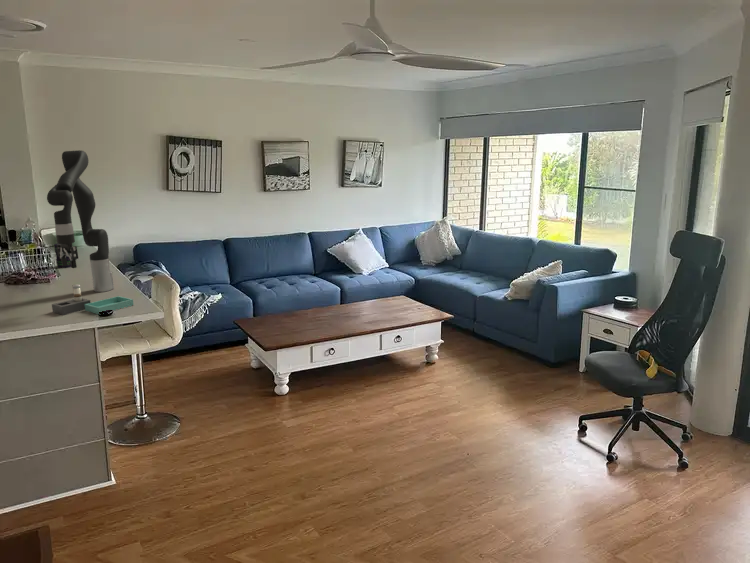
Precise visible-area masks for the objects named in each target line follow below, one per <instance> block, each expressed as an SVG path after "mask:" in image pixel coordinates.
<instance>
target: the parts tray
mask: <svg viewBox="0 0 750 563" xmlns="http://www.w3.org/2000/svg"><path fill="white" fill-rule="evenodd" d="M84 305H85V310H84V311H85V312H90V313H92V314H97V315H100V314H99V312H102V311H106V310H114V311H117V310H116V309H118V310H121V309H120V308H122V309H125V308H124V307H126V308H129V307H128V306H130V307H133V306H132V305H134V299H133V298H128V297H125V296H119V295H117V296H114V297H108V298H105V299H101V300H96V301H92V302H91V303H88V304H84Z"/></svg>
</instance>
